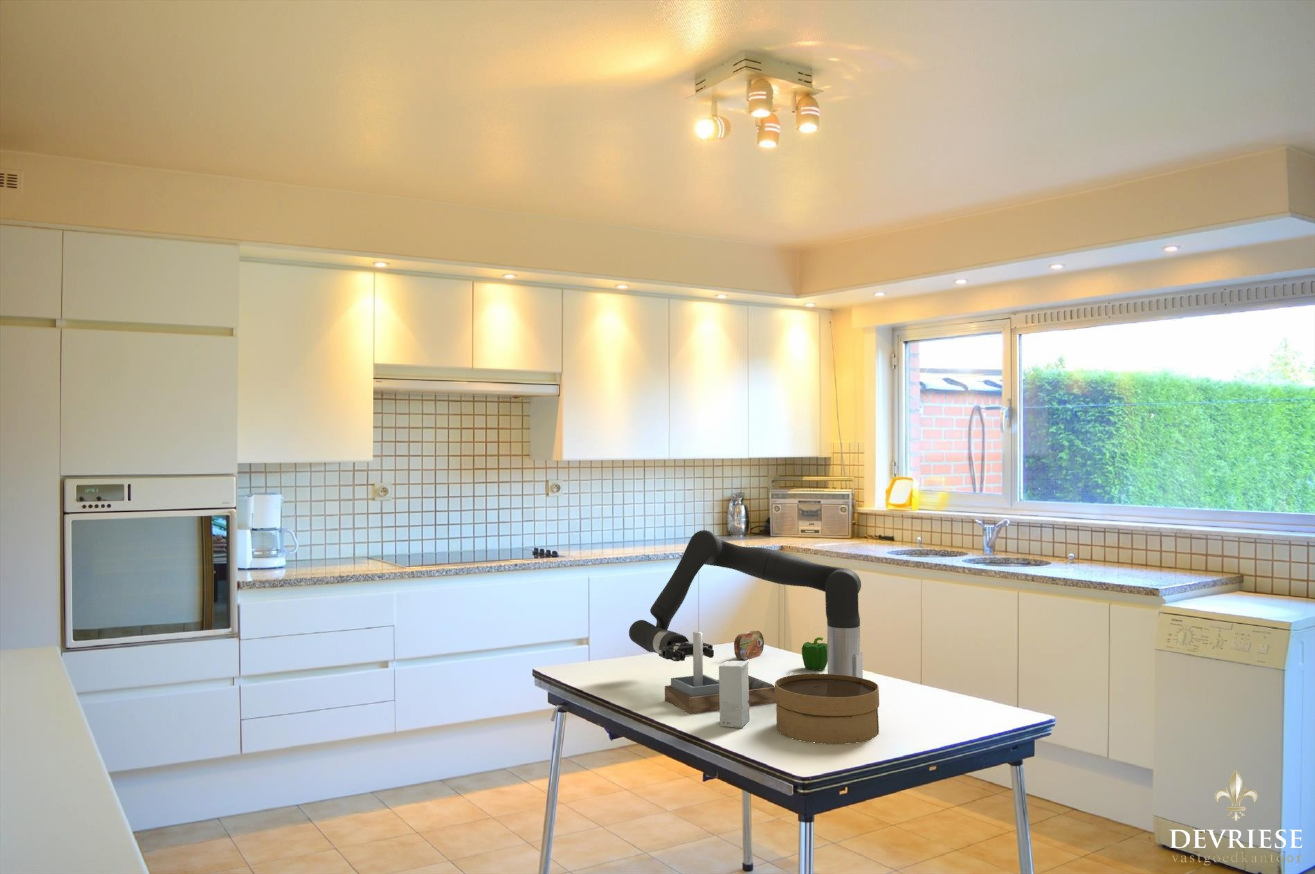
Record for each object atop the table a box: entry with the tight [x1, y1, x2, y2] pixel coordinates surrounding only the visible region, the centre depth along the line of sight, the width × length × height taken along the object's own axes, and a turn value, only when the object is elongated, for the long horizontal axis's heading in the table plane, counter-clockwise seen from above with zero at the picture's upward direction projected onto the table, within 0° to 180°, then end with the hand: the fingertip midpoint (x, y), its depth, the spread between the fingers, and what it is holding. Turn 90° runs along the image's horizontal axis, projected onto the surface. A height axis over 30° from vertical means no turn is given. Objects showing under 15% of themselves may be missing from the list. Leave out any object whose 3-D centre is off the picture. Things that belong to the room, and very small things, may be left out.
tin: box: [733, 630, 765, 661], centre depth 321 cm, size 15×3×8 cm, turn 143°
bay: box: [664, 674, 776, 715], centre depth 263 cm, size 26×15×5 cm, turn 116°
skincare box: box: [718, 660, 750, 729], centre depth 242 cm, size 8×6×15 cm
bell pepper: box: [801, 636, 828, 671], centre depth 303 cm, size 8×8×10 cm
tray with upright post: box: [670, 631, 719, 697], centre depth 260 cm, size 10×12×18 cm
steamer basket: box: [774, 673, 880, 745], centre depth 236 cm, size 25×25×11 cm
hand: (698, 655), depth 261 cm, fingers open, 8 cm apart
